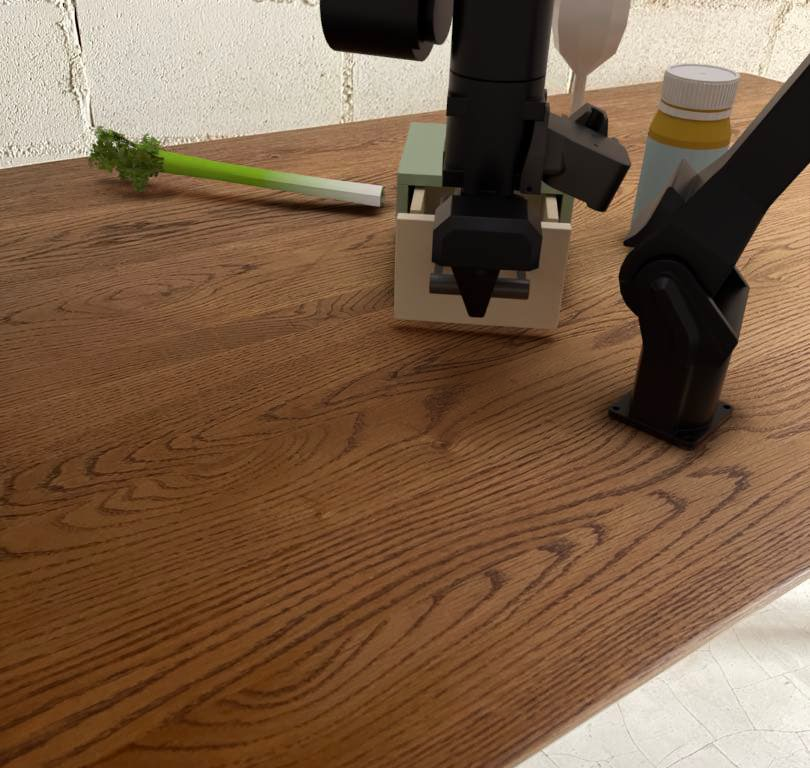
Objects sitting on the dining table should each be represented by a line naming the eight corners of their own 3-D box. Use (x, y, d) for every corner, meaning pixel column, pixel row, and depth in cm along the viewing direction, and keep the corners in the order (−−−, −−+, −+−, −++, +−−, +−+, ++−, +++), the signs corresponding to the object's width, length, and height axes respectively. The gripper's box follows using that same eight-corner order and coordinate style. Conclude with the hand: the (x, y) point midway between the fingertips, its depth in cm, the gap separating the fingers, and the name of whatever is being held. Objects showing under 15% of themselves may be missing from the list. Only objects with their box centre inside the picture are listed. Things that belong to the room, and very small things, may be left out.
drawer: (559, 360, 67) (575, 255, 62) (387, 348, 68) (390, 243, 63) (550, 264, 81) (563, 171, 76) (406, 255, 81) (410, 162, 76)
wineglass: (521, 135, 113) (544, -70, 100) (582, 128, 116) (611, -71, 103) (560, 156, 107) (589, -58, 94) (622, 149, 110) (659, -60, 97)
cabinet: (559, 303, 77) (576, 183, 71) (393, 292, 78) (396, 172, 71) (552, 239, 88) (567, 130, 81) (407, 230, 88) (410, 121, 82)
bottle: (704, 264, 84) (749, 85, 75) (627, 256, 85) (660, 78, 76) (701, 236, 89) (742, 66, 80) (628, 228, 90) (660, 59, 81)
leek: (374, 241, 90) (76, 190, 92) (384, 224, 96) (105, 177, 98) (381, 175, 87) (73, 123, 88) (392, 162, 93) (102, 114, 94)
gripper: (656, 123, 47) (605, 390, 57) (618, 43, 62) (582, 268, 72) (438, 111, 48) (425, 379, 58) (450, 34, 62) (438, 259, 72)
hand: (476, 315), depth 65 cm, fingers closed
